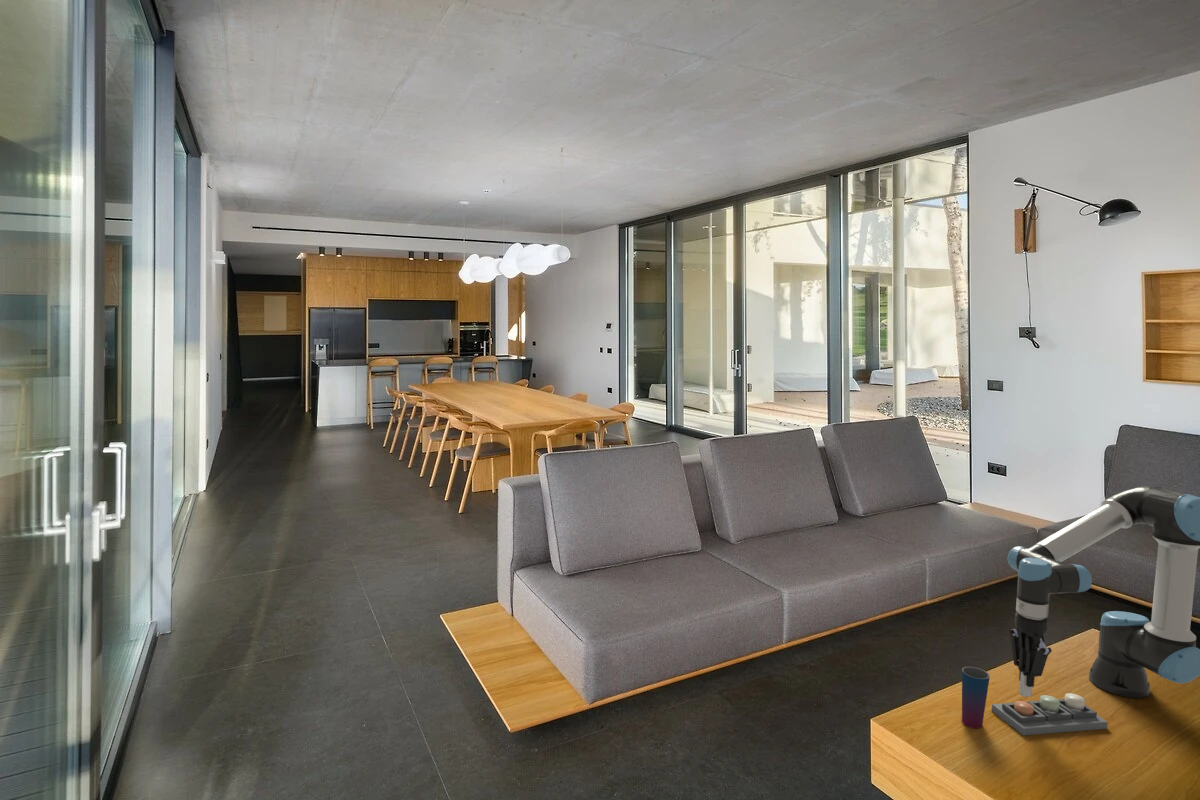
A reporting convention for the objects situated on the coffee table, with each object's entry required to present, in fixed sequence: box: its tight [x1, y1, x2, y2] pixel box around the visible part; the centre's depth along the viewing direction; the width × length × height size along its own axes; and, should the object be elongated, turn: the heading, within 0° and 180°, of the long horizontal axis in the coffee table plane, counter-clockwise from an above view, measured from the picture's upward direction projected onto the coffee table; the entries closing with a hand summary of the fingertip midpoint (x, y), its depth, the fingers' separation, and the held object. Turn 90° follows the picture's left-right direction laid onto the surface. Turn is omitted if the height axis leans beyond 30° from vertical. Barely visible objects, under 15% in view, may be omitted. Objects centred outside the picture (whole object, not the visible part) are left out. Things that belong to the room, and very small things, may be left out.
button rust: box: [1014, 700, 1034, 716], centre depth 189 cm, size 5×5×2 cm
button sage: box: [1039, 694, 1060, 712], centre depth 190 cm, size 5×5×2 cm
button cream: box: [1064, 692, 1086, 710], centre depth 191 cm, size 5×5×2 cm
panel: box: [991, 698, 1109, 736], centre depth 191 cm, size 26×12×4 cm, turn 98°
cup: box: [961, 666, 991, 729], centre depth 188 cm, size 7×7×15 cm
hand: (1025, 694), depth 189 cm, fingers closed
